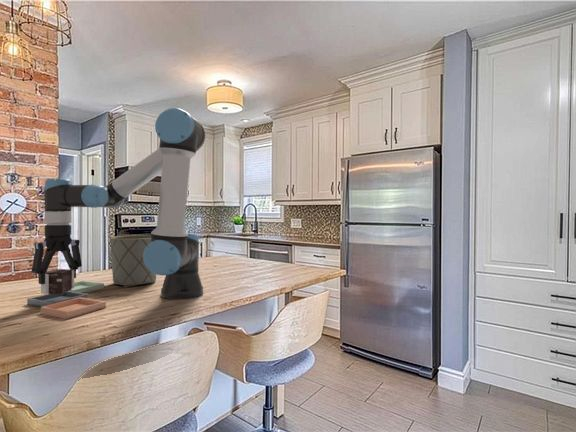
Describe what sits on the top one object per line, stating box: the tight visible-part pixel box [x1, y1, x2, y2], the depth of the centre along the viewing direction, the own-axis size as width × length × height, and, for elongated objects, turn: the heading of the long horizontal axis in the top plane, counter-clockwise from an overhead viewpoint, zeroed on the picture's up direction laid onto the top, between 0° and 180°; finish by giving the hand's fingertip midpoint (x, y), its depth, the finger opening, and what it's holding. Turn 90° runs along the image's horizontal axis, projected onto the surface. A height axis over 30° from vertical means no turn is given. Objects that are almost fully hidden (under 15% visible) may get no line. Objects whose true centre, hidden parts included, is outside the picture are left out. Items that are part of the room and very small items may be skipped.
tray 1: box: [26, 291, 89, 308], centre depth 114 cm, size 12×12×2 cm
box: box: [46, 268, 72, 294], centre depth 114 cm, size 6×6×7 cm
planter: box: [109, 234, 157, 288], centre depth 145 cm, size 19×19×20 cm
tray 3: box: [40, 297, 107, 320], centre depth 105 cm, size 12×12×2 cm
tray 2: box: [70, 280, 105, 294], centre depth 131 cm, size 12×12×2 cm
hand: (58, 290), depth 114 cm, fingers closed on box, 8 cm apart
